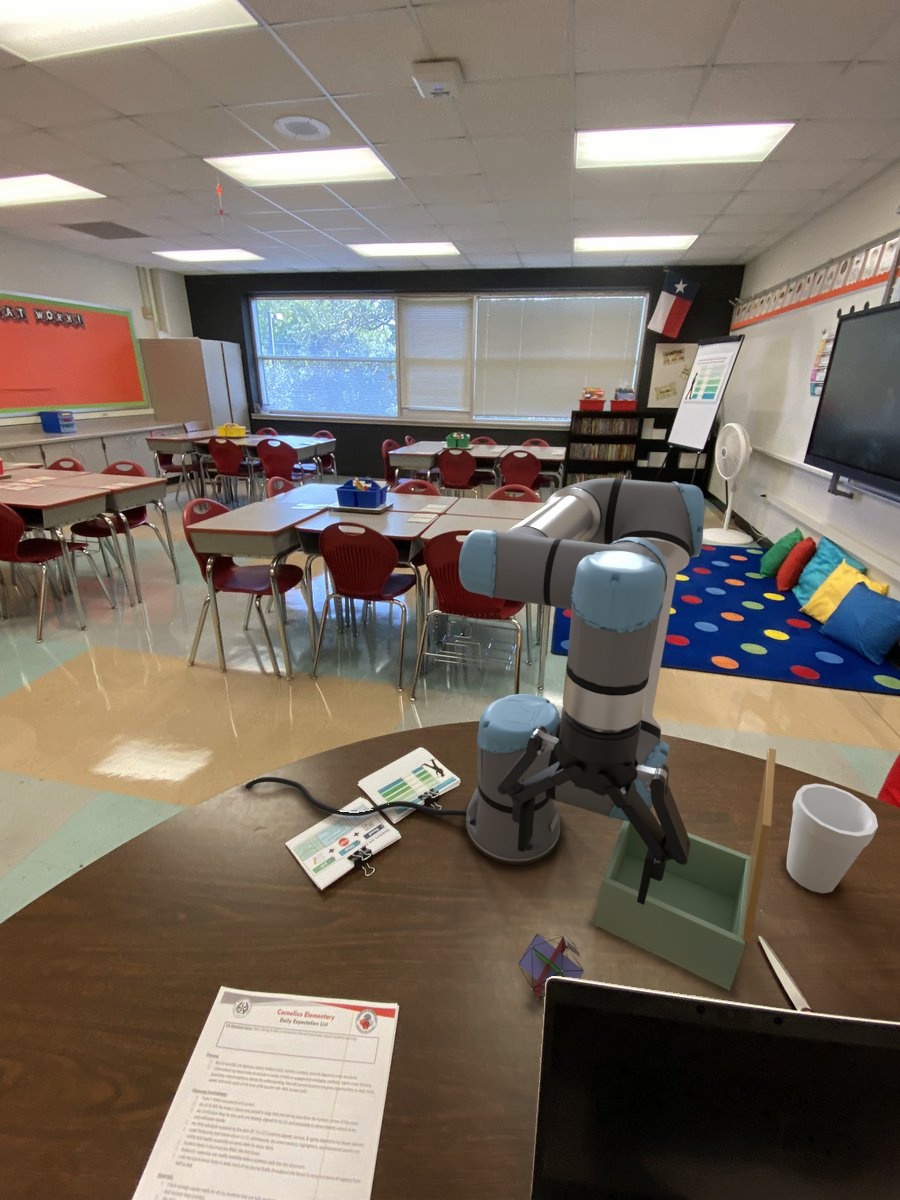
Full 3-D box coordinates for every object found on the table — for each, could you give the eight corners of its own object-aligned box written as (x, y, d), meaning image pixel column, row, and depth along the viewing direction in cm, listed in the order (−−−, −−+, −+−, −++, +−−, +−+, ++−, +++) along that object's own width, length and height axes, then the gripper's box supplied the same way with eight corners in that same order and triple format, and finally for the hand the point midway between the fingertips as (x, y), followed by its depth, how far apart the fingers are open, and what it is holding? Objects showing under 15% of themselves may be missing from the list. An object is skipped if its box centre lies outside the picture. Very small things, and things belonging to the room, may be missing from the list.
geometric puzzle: (549, 1031, 60) (577, 962, 60) (500, 986, 64) (527, 922, 65) (573, 1011, 66) (598, 948, 66) (526, 971, 70) (550, 913, 70)
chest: (594, 925, 73) (601, 880, 70) (620, 852, 84) (628, 809, 80) (729, 991, 65) (745, 944, 62) (739, 901, 76) (753, 857, 72)
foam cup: (760, 859, 82) (781, 795, 77) (802, 839, 86) (824, 776, 80) (820, 913, 74) (848, 845, 69) (864, 888, 78) (894, 822, 72)
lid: (762, 824, 55) (771, 826, 55) (768, 747, 66) (776, 749, 66) (742, 940, 62) (750, 943, 61) (750, 853, 72) (757, 856, 72)
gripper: (747, 729, 50) (704, 889, 58) (500, 661, 61) (495, 804, 70) (742, 779, 44) (695, 949, 52) (469, 694, 55) (468, 846, 64)
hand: (581, 867), depth 61 cm, fingers open, 13 cm apart
